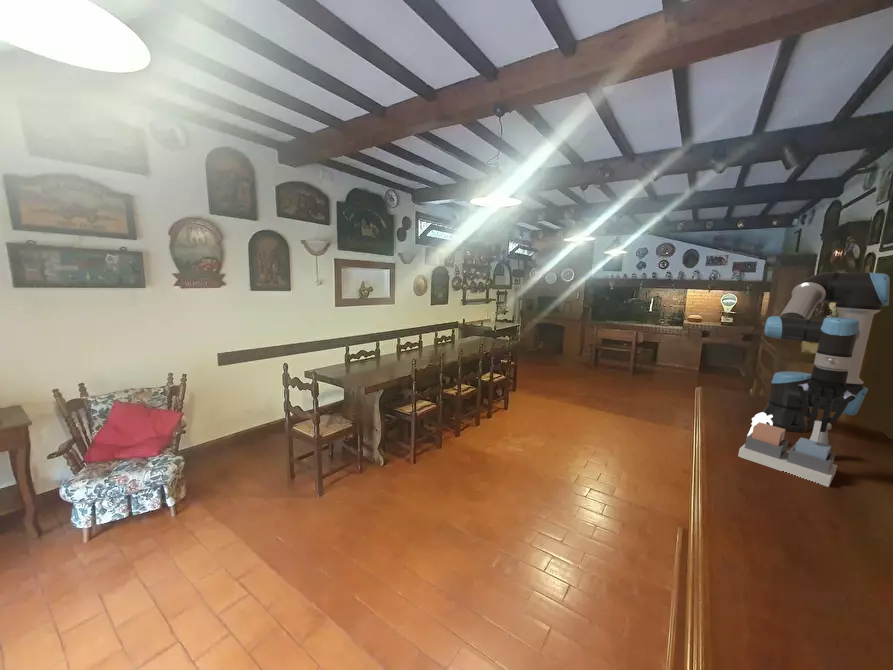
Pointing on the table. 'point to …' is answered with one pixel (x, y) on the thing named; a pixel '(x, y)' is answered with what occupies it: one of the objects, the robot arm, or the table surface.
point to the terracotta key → (768, 433)
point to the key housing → (789, 460)
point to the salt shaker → (824, 435)
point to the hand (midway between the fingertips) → (814, 439)
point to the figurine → (760, 420)
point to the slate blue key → (813, 448)
